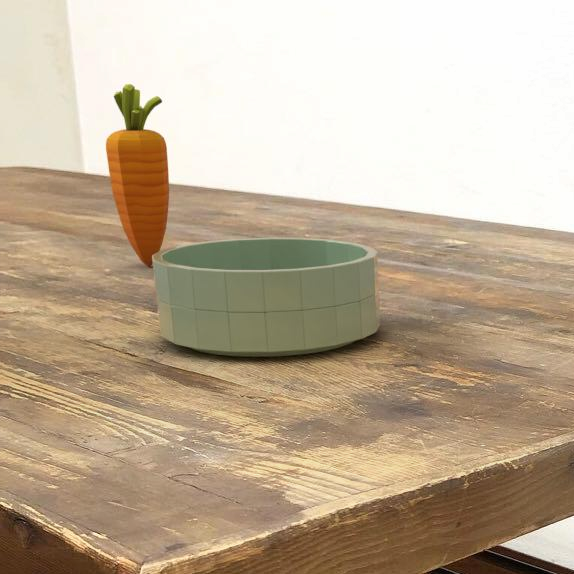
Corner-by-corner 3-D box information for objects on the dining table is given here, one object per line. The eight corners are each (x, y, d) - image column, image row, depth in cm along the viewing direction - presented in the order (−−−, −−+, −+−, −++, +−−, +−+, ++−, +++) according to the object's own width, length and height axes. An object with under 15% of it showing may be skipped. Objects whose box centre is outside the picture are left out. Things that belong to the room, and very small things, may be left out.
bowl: (134, 361, 76) (123, 270, 74) (191, 314, 89) (184, 236, 87) (366, 362, 76) (362, 272, 74) (389, 316, 89) (386, 238, 87)
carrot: (142, 260, 111) (123, 82, 105) (189, 263, 109) (173, 83, 104) (107, 268, 107) (85, 83, 101) (155, 272, 105) (136, 84, 100)
